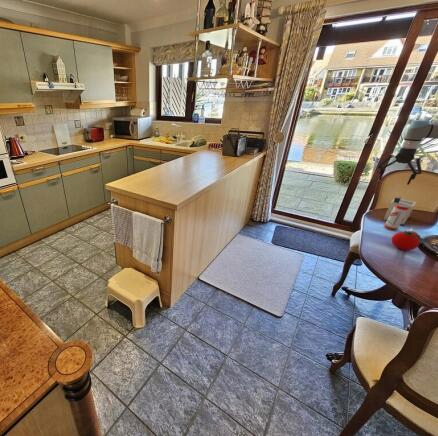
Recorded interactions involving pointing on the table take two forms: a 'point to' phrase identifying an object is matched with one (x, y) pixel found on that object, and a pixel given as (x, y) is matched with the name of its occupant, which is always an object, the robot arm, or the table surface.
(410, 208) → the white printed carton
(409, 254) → the table surface
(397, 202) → the slider
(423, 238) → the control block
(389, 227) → the beer can
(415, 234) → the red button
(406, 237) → the tomato
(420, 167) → the robot arm
